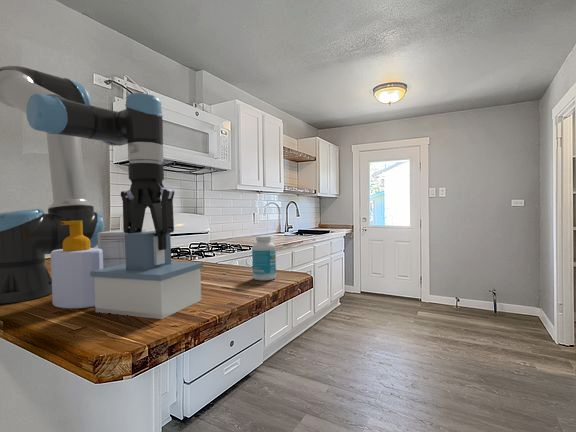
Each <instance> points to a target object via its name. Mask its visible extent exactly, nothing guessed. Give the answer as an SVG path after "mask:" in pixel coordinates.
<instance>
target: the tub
mask: <svg viewBox="0 0 576 432" xmlns="http://www.w3.org/2000/svg"><path fill="white" fill-rule="evenodd" d="M201 275H202V274H201V268H200V269H197V270H194V271H190V272H187V273H184V274H181V275H178V276H175V277H172V278H169V279H166V280H163V281H153V280H137V279H121V278H105V277H94V284H95V306H94V307H95V308H94V309H95V313H99V312H100V314H108V313H111V314H110V315H117V314H118V316H127V315H128V316H127V317H129V316H131V317H137V318H145V319H146V318H147V319H157V320H158V319H159V320H164V319H166V318H168V317H169V316H172V315H174V314H175V313H178V312H179V311H182V310H184V309H186V308H188V307H190V306H192V305H195V304H196V303H199V302H200V301H202V282H201V280H202V279H201Z"/></svg>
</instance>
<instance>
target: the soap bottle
mask: <svg viewBox="0 0 576 432" xmlns="http://www.w3.org/2000/svg"><path fill="white" fill-rule="evenodd" d="M61 225H70V236H68V237H66V238H65V239H64V241H63V249H58V250H54V251H52V252H51V254H50V270H51V279H52V293H51V294H52V305H53V306H54V307H56V308H61V309H86V308H93V307H95V284H94V277H90V271H93V270H98V269H103V251H102V249H98V247H97V248H96V247H94V248H91V245H90V240H89V238H88V237H86V236H84V235H83V226H82V221H62V222H61Z"/></svg>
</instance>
